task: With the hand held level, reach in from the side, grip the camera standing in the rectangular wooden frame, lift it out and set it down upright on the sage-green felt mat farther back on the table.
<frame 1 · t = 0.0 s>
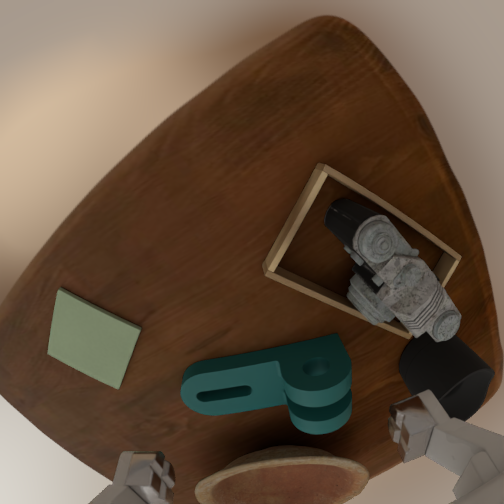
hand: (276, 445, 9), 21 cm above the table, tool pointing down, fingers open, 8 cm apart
mat: (90, 341, 32), on the table
rectangular wooden frame: (367, 256, 30), on the table
bowl: (277, 458, 41), on the table
pen holder: (425, 352, 36), on the table
camera: (366, 265, 31), on the table, touching rectangular wooden frame
bracket: (260, 373, 34), on the table
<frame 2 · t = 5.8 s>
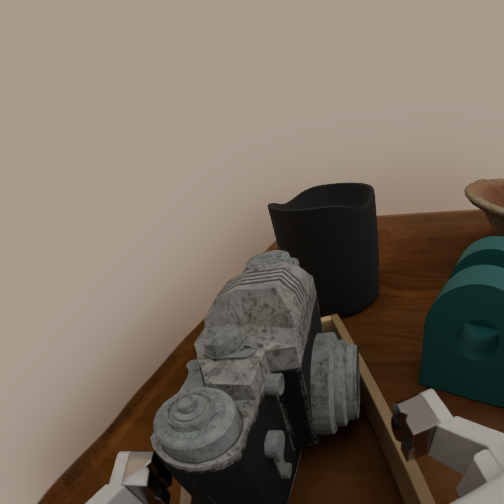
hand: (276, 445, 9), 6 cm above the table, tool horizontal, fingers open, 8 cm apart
rectangular wooden frame: (291, 447, 16), on the table
pen holder: (336, 297, 31), on the table
camera: (302, 434, 16), on the table, touching gripper, rectangular wooden frame
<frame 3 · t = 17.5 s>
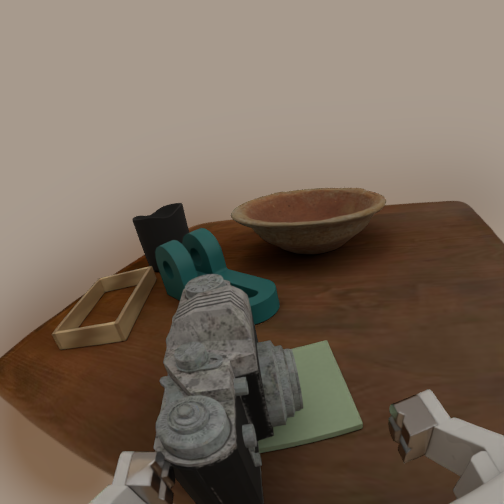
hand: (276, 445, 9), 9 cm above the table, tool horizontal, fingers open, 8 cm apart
mat: (279, 397, 22), on the table
rectangular wooden frame: (112, 311, 44), on the table
bowl: (316, 246, 51), on the table
pen holder: (173, 263, 59), on the table
camera: (254, 431, 19), point 1 cm above the table, touching mat
bracket: (221, 299, 41), on the table
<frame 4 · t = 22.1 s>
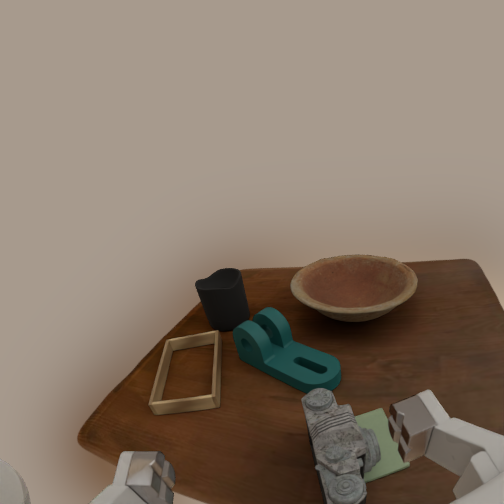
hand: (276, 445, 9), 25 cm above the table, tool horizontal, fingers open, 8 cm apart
mat: (356, 450, 31), on the table
rectangular wooden frame: (191, 374, 52), on the table
bowl: (357, 311, 59), on the table
pen holder: (230, 321, 67), on the table
camera: (346, 475, 28), on the table, touching mat
bracket: (291, 367, 49), on the table
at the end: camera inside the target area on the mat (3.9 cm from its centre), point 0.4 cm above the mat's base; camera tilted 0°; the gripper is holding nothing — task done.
